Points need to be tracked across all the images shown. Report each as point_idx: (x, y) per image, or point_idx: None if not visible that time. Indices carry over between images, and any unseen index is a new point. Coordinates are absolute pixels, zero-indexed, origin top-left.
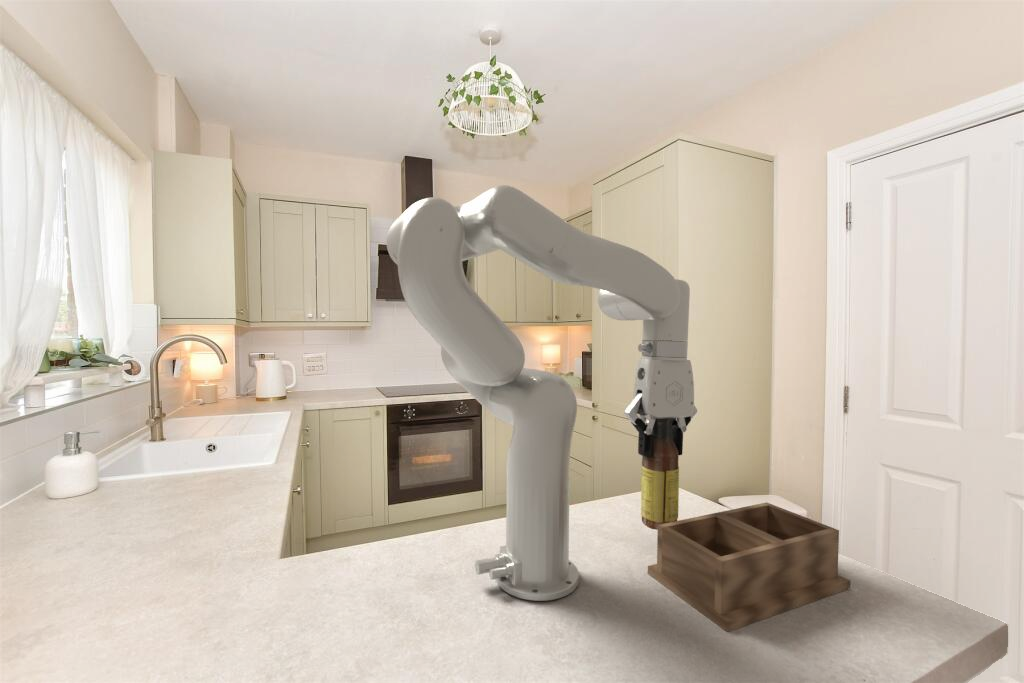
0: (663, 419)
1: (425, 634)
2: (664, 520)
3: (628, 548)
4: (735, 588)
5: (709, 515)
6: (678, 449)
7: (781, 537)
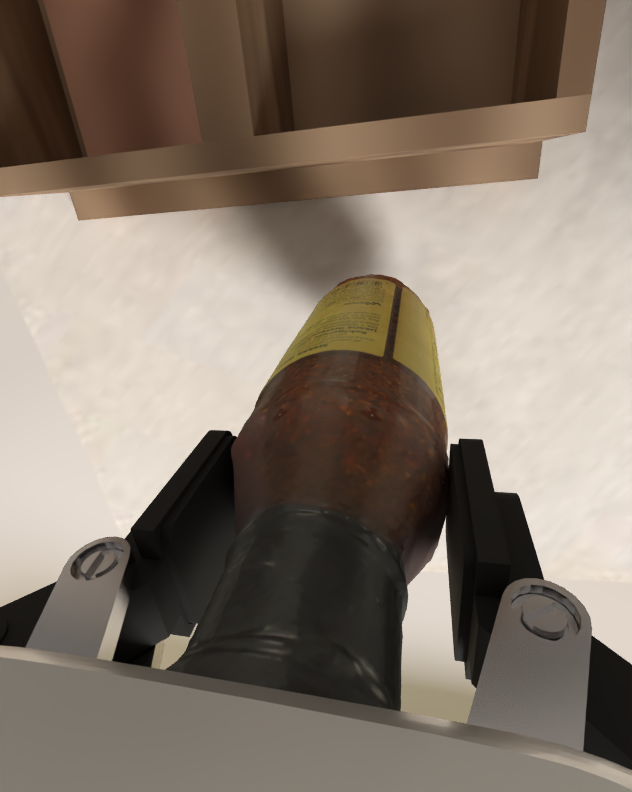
0: None
1: None
2: (395, 286)
3: (467, 331)
4: None
5: (276, 153)
6: (223, 454)
7: (35, 108)
